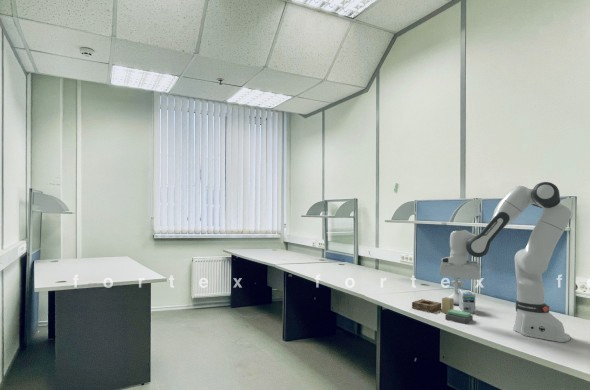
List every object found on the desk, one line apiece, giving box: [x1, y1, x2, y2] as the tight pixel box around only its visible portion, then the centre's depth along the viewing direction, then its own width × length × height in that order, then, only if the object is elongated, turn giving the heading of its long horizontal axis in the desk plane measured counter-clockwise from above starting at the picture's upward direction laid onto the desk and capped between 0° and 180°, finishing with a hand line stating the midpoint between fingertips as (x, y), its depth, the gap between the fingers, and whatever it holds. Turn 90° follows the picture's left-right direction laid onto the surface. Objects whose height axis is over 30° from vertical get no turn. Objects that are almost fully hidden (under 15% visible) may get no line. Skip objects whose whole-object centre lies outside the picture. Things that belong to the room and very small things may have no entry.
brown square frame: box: [411, 298, 442, 313], centre depth 217 cm, size 12×12×4 cm
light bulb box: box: [458, 289, 476, 314], centre depth 215 cm, size 11×7×11 cm, turn 168°
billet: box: [441, 296, 455, 315], centre depth 209 cm, size 4×4×8 cm
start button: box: [447, 308, 472, 317], centre depth 196 cm, size 10×6×3 cm, turn 44°
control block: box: [445, 313, 474, 325], centre depth 196 cm, size 10×10×2 cm
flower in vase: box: [447, 278, 461, 306], centre depth 232 cm, size 13×11×25 cm
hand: (459, 286), depth 196 cm, fingers closed
